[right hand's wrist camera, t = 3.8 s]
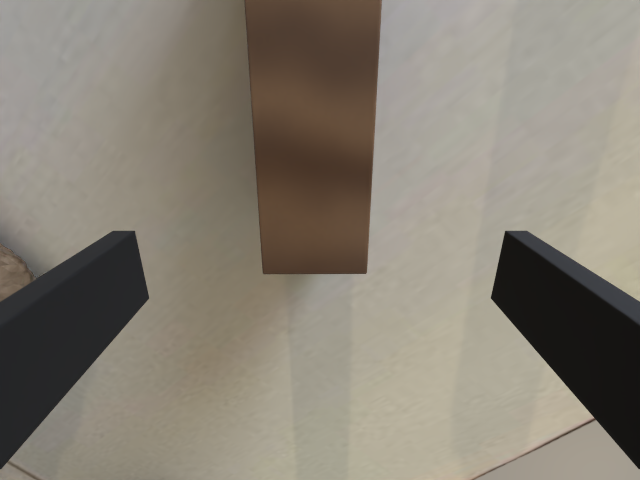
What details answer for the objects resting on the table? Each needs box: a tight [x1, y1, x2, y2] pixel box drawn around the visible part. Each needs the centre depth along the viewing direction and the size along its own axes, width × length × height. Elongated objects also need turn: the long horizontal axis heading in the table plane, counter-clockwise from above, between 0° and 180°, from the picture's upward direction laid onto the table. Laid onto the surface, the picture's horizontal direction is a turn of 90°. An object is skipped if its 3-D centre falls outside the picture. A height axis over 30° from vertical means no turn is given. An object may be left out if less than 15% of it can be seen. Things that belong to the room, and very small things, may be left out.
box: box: [245, 0, 382, 274], centre depth 21 cm, size 23×6×11 cm, turn 0°
